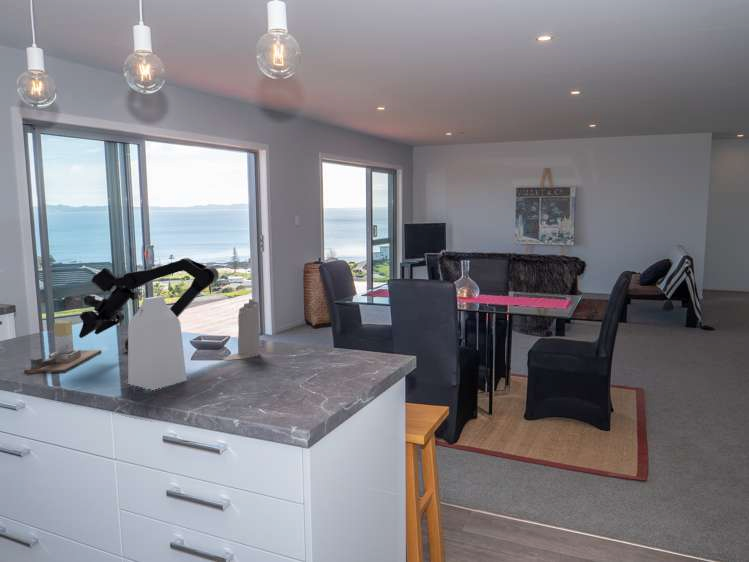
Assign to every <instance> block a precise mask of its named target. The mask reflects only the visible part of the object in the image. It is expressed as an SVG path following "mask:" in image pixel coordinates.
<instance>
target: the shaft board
mask: <svg viewBox="0 0 749 562" xmlns="http://www.w3.org/2000/svg"><path fill="white" fill-rule="evenodd" d="M73 351H74V352H73V353H71V354H56V351H54V352H52V353H50V354H48V358H46V359H44V358H43V357H34V358H30V367H28V368H25V369H24V372H23V373H24V374H42V373H41V372H66V371H67V372H69V371H71V370H72V368H73V369H74V367H75V368H76V366H77V367H78V366H80V365H82V364H84V363H85V361H86V362H87V361H90V360H91V359H93V358H94V356H95V357H97V356H98V355H100V354H102V350H101V349H98V350H97V349H95V350H93V349H92V350H91V349H90V350H89V349H88V350H85V349H84V350H81V349H73ZM99 353H100V354H99ZM96 355H97V356H96ZM92 357H93V358H92ZM90 358H91V359H90ZM83 362H84V363H83ZM81 363H82V364H81ZM79 364H80V365H79ZM70 369H71V370H70ZM68 370H69V371H68ZM38 372H39V373H38ZM67 372H66V373H67Z"/></svg>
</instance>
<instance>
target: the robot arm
mask: <svg viewBox="0 0 749 562" xmlns="http://www.w3.org/2000/svg"><path fill="white" fill-rule="evenodd" d="M179 272H185V273H187V274H188V275H190V276H191V277H192V278H193V281H192V282H191V285H190V286H189V287H188V288H187V289H186V291H184V293H183V294H182V295H181V296H180V297H179V298H178V299H177V300H176V301H175V303H174V304H173V305H171V307H169V308H170V309H171V311H172V312H173V313H174V314H175V315H176V316H177V318H178V317H180V315H182V313H183V312H184V311H185V310H186V309H187V308H188V307H189V306H190V305H191V303H192V302H193V301H195V300H196V298H197V297H198V296H199V295H200V294H201V293H202V292H203V291H205V290H206V289H208V288H210V287H211V286H212V285H213V284H215V283H216V282H217V281H218V279H219V271H218V269H217V268H215V267H213V266H207V265H205V264H203V263H200V262H197V261H194V260H193V259H192V258H189V257H184V258H181V259H180V260H177V261H174V262H170V263H167V264H163V265H161V266H157V267H155V268H151V269H141V270H135V271H129V272H127V273H125V274H123V276H117V275H116V274H114V273H113V272H112V271H111V270H110V269H109V267H104V268H102V269H101V270H100V271H98V273H97V274H95V275H94V276H93V277H92V278H91V280H90V282H91V283H92V284H93V285H95V286H96V287H97V288H98V289H100V290H101V291H102V292H103V293H107V292H108V293H110V295H108V297H107V298H104V297H101V296H99V295H96V294H87V295H85V297H83V299H82V300H83V304H84V305H85V306H88V307H92V308H93V310H87V311H86V310H85V311H82V312H81V313H80V315H79V318H80V319H81V321H82V326H81V329H80V332H79V335H78V337H79V338H80V339H83V338H84V337H86V336H88V335H90V334H91V333H94V334H95V335H99V334H100V333H103V332H105V331H107V330H108V329H110V328H113V327H115V326H116V325H117V326H118V325H119V324H121V323H122V322H123V321H124V320H125V314H123V313H122V312H123V310H124V309H125V308H124V306H126V304H127V303H128V302H129V300H132V301H135V300H138V299H139V295H138V291H133V290H135V289H137V288H140V287H143V286H145V285H147V284H149V283H150V282H153V281H154V280H157V279H159V278H164V277H166V276H169V275H173V274H175V273H179ZM94 311H95V312H94ZM96 312H97V313H96ZM178 319H179V318H178Z"/></svg>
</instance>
